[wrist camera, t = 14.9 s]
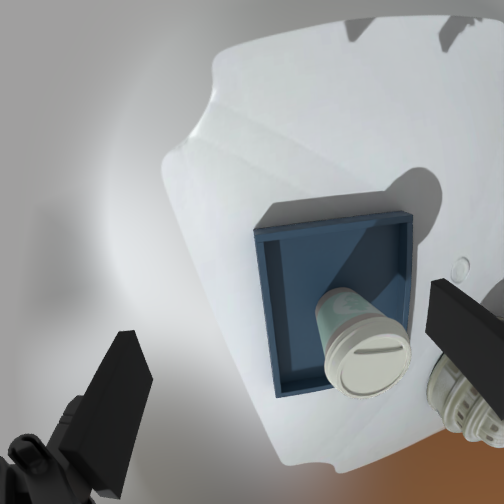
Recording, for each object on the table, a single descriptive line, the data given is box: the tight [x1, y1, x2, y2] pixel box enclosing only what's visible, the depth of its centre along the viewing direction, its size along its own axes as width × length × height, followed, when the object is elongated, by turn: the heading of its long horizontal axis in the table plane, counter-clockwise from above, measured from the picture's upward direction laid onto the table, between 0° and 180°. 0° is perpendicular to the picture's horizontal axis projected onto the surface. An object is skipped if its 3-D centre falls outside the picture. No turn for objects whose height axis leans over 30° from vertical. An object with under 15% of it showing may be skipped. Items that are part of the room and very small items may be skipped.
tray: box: [253, 211, 413, 398], centre depth 36 cm, size 22×18×3 cm
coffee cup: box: [315, 287, 411, 399], centre depth 31 cm, size 9×9×12 cm
